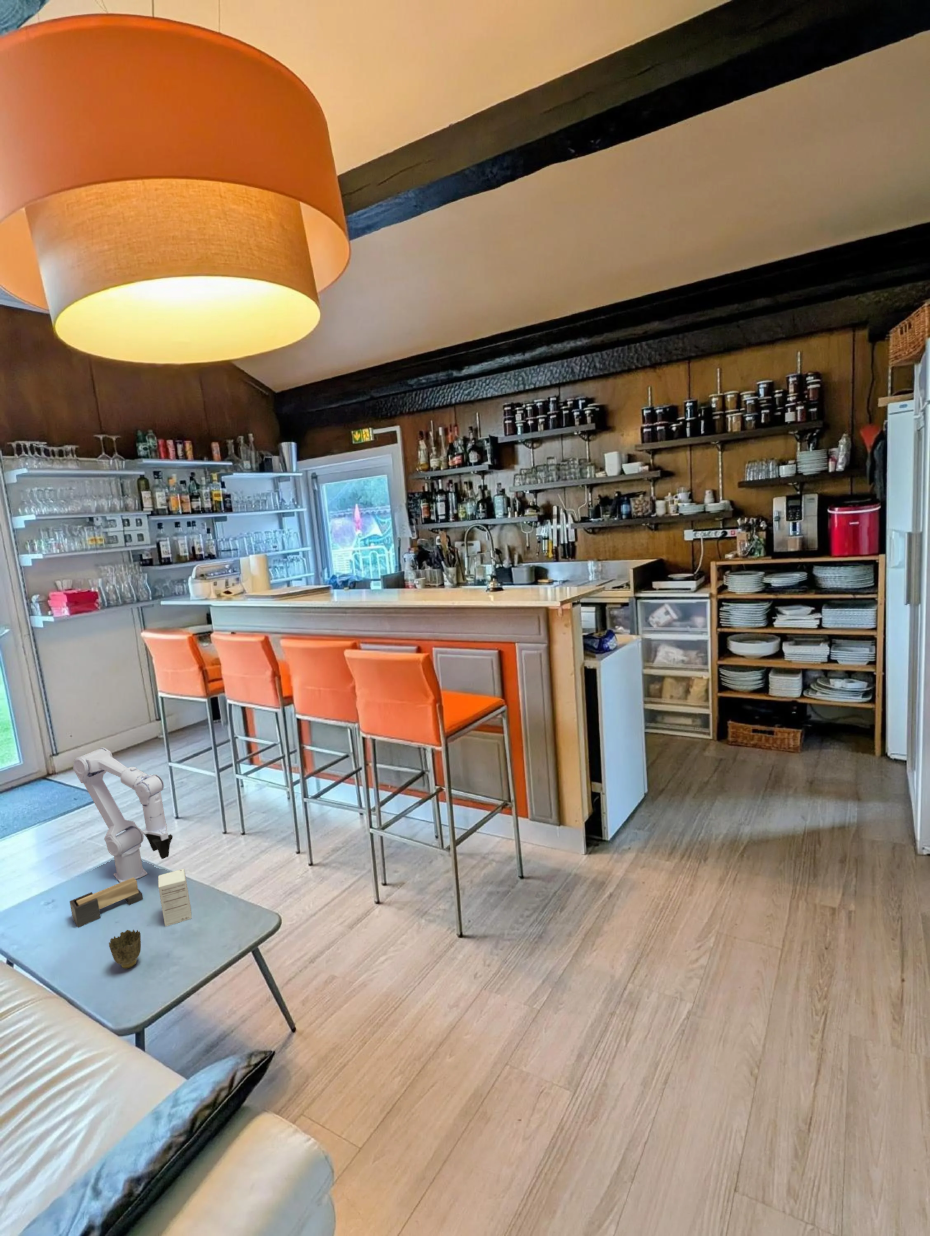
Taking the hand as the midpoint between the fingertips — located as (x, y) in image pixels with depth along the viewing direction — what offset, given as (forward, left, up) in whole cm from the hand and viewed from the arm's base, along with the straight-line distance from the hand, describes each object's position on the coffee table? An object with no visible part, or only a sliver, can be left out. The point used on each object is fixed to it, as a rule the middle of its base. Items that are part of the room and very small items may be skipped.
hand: (160, 853), depth 207 cm
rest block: (+1, -10, -10) cm, 15 cm away
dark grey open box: (+1, -23, -10) cm, 25 cm away
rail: (+1, -17, -8) cm, 19 cm away
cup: (+34, -21, -11) cm, 41 cm away
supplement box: (+22, -4, -11) cm, 25 cm away
